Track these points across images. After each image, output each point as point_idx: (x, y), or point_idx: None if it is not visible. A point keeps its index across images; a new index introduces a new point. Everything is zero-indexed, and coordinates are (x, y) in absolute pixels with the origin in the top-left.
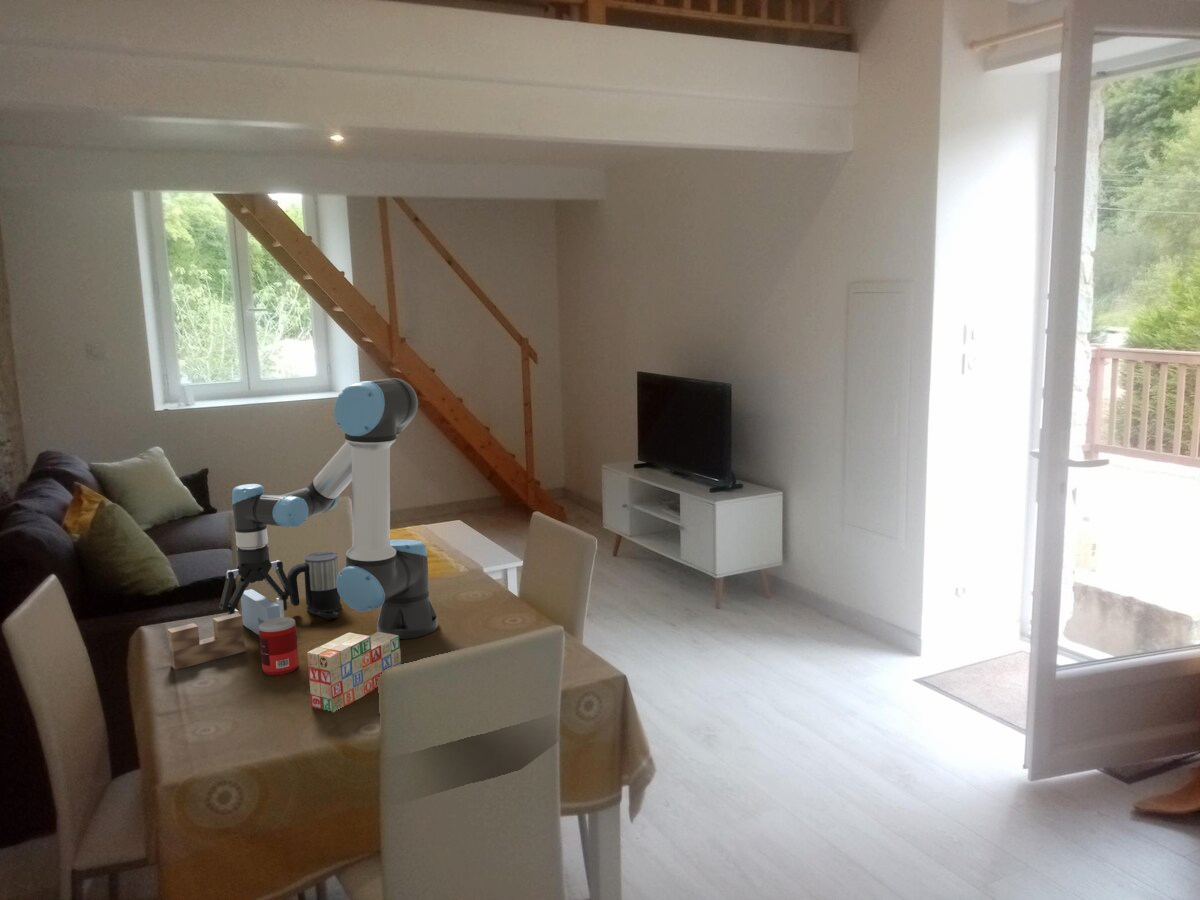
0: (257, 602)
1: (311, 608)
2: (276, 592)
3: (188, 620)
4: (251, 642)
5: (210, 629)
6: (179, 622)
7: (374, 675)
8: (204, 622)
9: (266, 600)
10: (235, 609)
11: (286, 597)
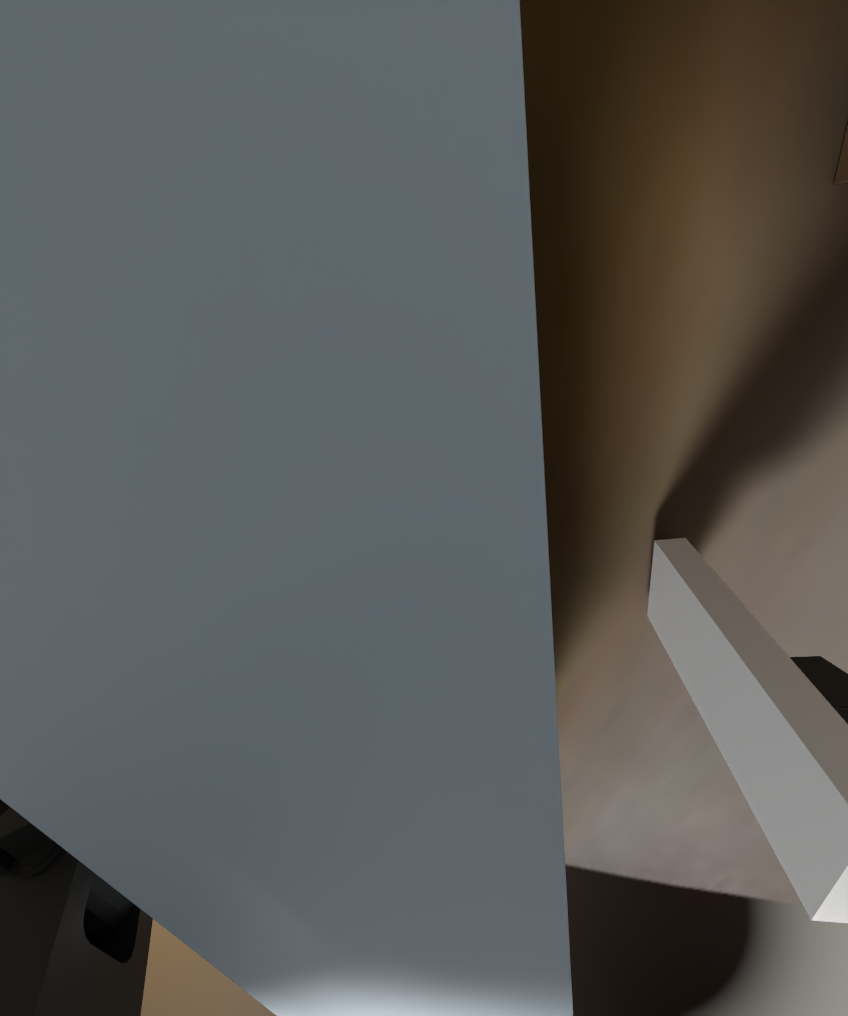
0: (565, 947)
1: None
2: (97, 1011)
3: (731, 890)
4: (631, 327)
5: (724, 765)
6: (780, 895)
7: None
8: (686, 844)
9: (238, 914)
10: (845, 888)
11: (8, 831)
